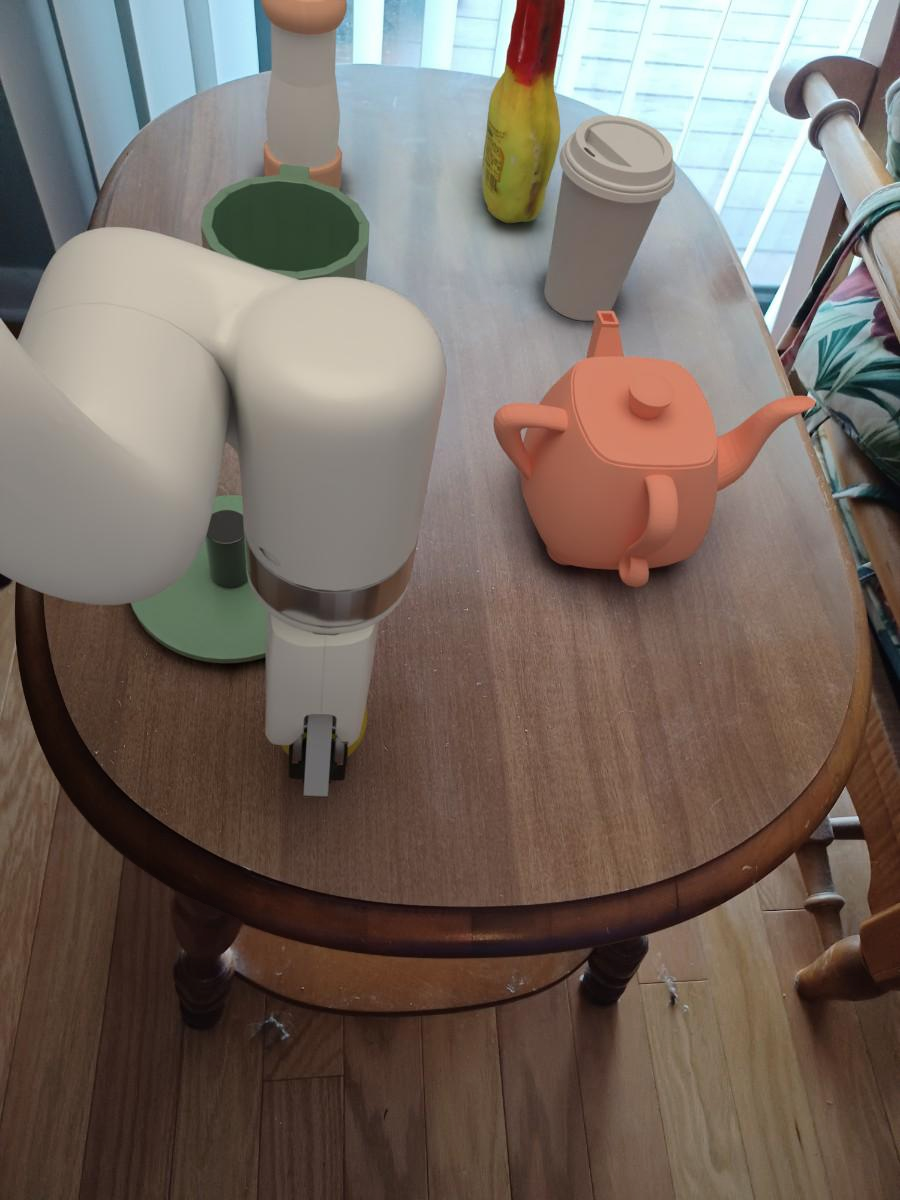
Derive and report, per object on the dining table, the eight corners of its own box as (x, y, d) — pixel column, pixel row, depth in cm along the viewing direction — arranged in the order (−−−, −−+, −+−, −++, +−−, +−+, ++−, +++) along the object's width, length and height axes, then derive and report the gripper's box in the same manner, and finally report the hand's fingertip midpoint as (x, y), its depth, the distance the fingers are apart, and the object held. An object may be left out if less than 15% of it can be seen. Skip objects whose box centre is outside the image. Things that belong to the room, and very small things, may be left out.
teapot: (568, 407, 79) (613, 272, 68) (746, 514, 75) (824, 389, 64) (457, 520, 71) (487, 388, 60) (649, 647, 67) (720, 531, 56)
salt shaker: (253, 168, 92) (243, -53, 76) (322, 157, 95) (327, -60, 79) (282, 212, 89) (279, -9, 73) (353, 199, 91) (364, -18, 76)
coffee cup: (517, 264, 89) (552, 107, 77) (613, 264, 91) (662, 111, 79) (541, 333, 84) (582, 177, 72) (641, 331, 86) (699, 179, 74)
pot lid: (112, 663, 61) (95, 610, 56) (145, 499, 68) (133, 439, 63) (326, 673, 62) (329, 622, 57) (335, 511, 70) (338, 454, 65)
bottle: (468, 163, 97) (502, -56, 81) (528, 167, 98) (574, -48, 82) (481, 235, 91) (522, 14, 74) (546, 239, 92) (600, 21, 75)
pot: (198, 391, 75) (186, 292, 67) (223, 248, 85) (216, 148, 77) (358, 404, 76) (365, 309, 68) (365, 262, 86) (371, 165, 79)
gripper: (262, 400, 47) (268, 603, 61) (223, 715, 37) (242, 865, 52) (414, 413, 48) (384, 610, 62) (414, 723, 38) (379, 868, 53)
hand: (319, 724), depth 57 cm, fingers closed on lemon, 5 cm apart
